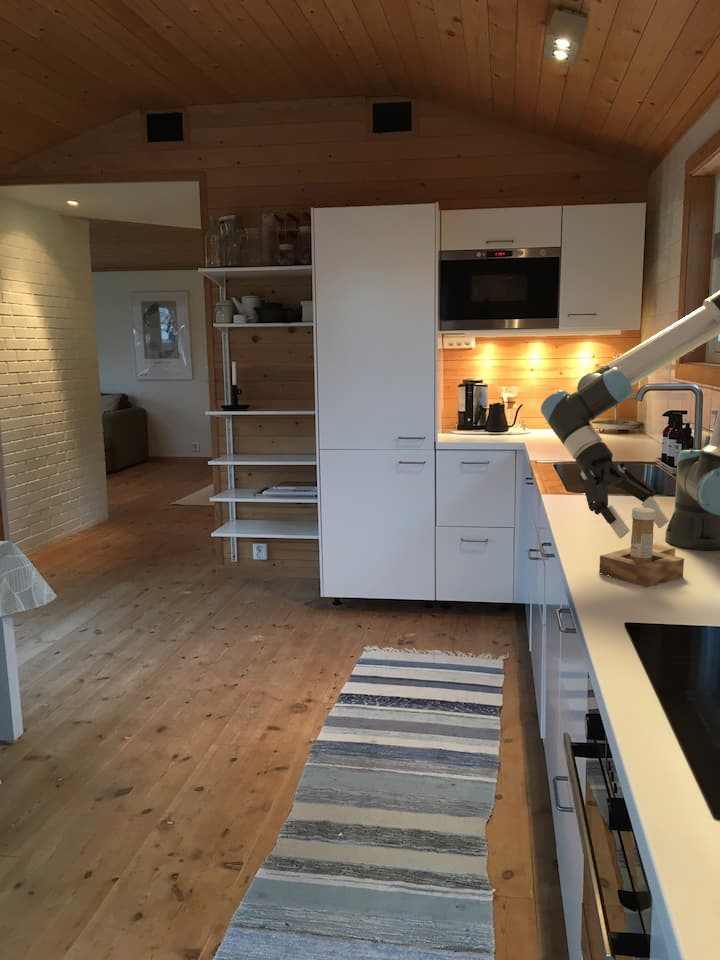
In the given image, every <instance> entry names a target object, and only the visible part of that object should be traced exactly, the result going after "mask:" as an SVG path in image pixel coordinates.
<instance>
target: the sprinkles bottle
mask: <svg viewBox="0 0 720 960" xmlns="http://www.w3.org/2000/svg"><path fill="white" fill-rule="evenodd" d="M631 518H632V526H631V527H632V528H631V537H630V548H631V551H630V555H631V556H630V559H631V560H635V561H639V562H643V563H648V562H651V558H652V549H653V543H654V527H655V526H654V525H655V522H654V519H655V510H654V509H651V508H645V507H643V506H642V507H641V506H640V507H638V506H637V507H634V508H631Z"/></svg>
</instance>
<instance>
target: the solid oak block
mask: <svg viewBox="0 0 720 960" xmlns="http://www.w3.org/2000/svg"><path fill="white" fill-rule="evenodd" d="M652 551H655V552H659V553H663V554H667V555H671V556H675V557H676V548H675V547H672V546H668V545H663V544H661V543H660V544H659V543H655V542H653V549H652Z"/></svg>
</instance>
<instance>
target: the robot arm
mask: <svg viewBox="0 0 720 960" xmlns="http://www.w3.org/2000/svg"><path fill="white" fill-rule="evenodd" d="M719 335H720V290H719V291H717V292H715V293H714V294H712V295H711V296H709V297H708V298H706V299H704V300H703V303H702V306H701V307H699V308H697V309H696V310H694V311H692V312H691V313H690V314H688V315H686V316H685V317H683V318H681V319H680V320H678V321H676V322H674V323H673V324H671V325H670V326H667V327H666V328H665V329H663V330H661V331H659V332H658V333H656V334H655V335H652V336H651V337H650V338H647V340H644V341H643V342H642V343H640V344H638V345H636V346H634V347H633V348H631V349H630V350H628V351H627V352H625V353H623V354H621V355H620V356H618V357H616V358H615V359H613V360H611V361H610V362H609V363H606V364H604V365H603V366H602V367H599V368H598V369H597V370H595V371H594V372H589V373H587V374H585V375H584V376H582V377H581V378H580V379H579V381H578V383H577V386H576V391H575V392H573V393H569V391H567V390H561V389H560V390H558V391H556V392H553V393H552V394H550V395H548V396H546V398H545V399H544V400H543V402H542V403H541V405H540V412H541V414H542V416H543V418H544V419H545V420H546V422H547V424H548V425H549V427H550V428H551V430H552V431H553V432H554V434H555V435H556V436H557V438H558V439H559V441H560V442H561V444H562V445H563V447H564V448H565V449H566V450H567V451H568V453H569V455H570V456H571V458H572V459H573V460H574V461H575V464H576V465H577V467H578V468H579V470H580V471H581V472H580V473H579V474H578V478H579V480H580V481H581V484H582V487H583V490H584V494H585V497H586V502H587V506H588V509H589V510H590V511H591V512H594V514H595V515H600V514H601V516H602V517H603V519H604V520H605V521H606V522H607V524H609V525H610V528H611V529H612V530H613V532H614V533H615V534H616V536H617V537H618V539H622V538H624V536H626V535H627V534H628V533H630V531H631V529H629V527H628V526H627V525H626V523H625V521H624V520H623V518H621V516H620V514H619V512H617V510H616V508H615V507H614V506H613V505H612V504H611V505H609V491H608V490H609V487H611V488H613V487H615V488H617V489H619V488H620V489H621V490H623V491H624V492H627V493H628V494H630V495H631V496H633V497H634V498H636V499H637V500H638V501H641V502H642V503H641V506H642V507H645V508H651V509H654V510H655V519H654V525H656V526H657V528H658V529H662V528H663V527H664V526H665V525H666V524H668V525H667V527H666V529H665V537H664V540H665V542H667V543H668V544H671V545H673V546H676V547H680V548H687V549H692V550H693V549H694V550H703V551H707V550H708V551H714V550H715V551H716V550H720V405H719V407H718V411H717V414H716V415H717V416H716V419H715V423H714V427H713V431H712V435H711V438H710V439H711V440H710V443H709V444H707V445H705V446H703V448H701V449H683V450H681V451H679V453H678V455H677V461H676V466H677V467H676V481H675V495H674V496H675V498H674V501H675V502H674V509H673V512H672V515H671V517H670V519H669V518H668V517H667V515H666V514H665V513H664V512H663V510H662V508H661V507H660V506H659V504H658V503H657V502H656V500H655V499H654V495H656V493H657V490H656V489H655V488H653V487H652V486H651V485H650V484H649V483H647V482H646V481H645V480H644V479H643V478H641V477H640V476H639V475H638V474H637V473H635V471H633V470H632V469H630V468H629V466H628V465H627V463H626V462H624V461H622V462H621V461H620V463H619V464H618V465H616V464H615V463H614V462H613V456H614V455H613V453H612V451H611V449H610V448H609V447H608V445H607V444H606V443H605V442H603V438H602V437H601V436H600V434H599V433H598V432H597V430H596V429H595V427H594V426H593V425H592V423H591V422H592V421H594V420H596V418H598V417H600V416H601V415H603V414H604V413H606V412H607V411H609V410H611V409H612V408H614V407H616V406H617V405H619V404H620V403H623V402H624V401H626V399H628V397H630V396H632V395H633V392H634V389H633V386H634V385H635V384H637V383H639V382H641V381H642V380H644V379H646V378H647V377H650V375H652V374H654V373H656V372H657V371H659V370H660V369H662V368H664V367H666V366H667V365H669V364H672V363H673V362H674V361H676V360H678V359H680V358H682V357H683V356H685V355H686V354H689V353H690V352H692V351H693V350H695V349H696V348H699V347H700V346H702V345H704V344H705V343H707V342H709V341H711V340H712V339H713V338H715V337H717V336H719Z"/></svg>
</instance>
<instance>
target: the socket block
mask: <svg viewBox="0 0 720 960" xmlns="http://www.w3.org/2000/svg"><path fill="white" fill-rule="evenodd" d="M630 551H631V547H629V548H624V549H621V550H616V551H613V552H609V553H608V552H607V553H605V554H600V555H599V570H598V574H599V573H602V574H605V575H604V576H606V575H609V576H611V577H610V578H613V577H614V578H613V579H616V578H617V580H619V579H620V581H624V582H626V583H630V584H633V585H637V586H641V587H643V586H644V588H647V587H649V588H651V586H652V587H654V586H659V585H661V583H662V584H664V583H668V582H671V581H674V580H675V581H676V580H678V579H681V578H684V567H685V566H684V563H685V558H683V557H680V556H679V557H678V556H676V555H675V556H671V555H667V554H663V553H659V552H655V551H652V558H651V562H648V563H643V562H639V561H635V560H631V559H630V556H631V555H630ZM602 574H601V575H602ZM609 576H608V577H609ZM658 584H659V585H658Z"/></svg>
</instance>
